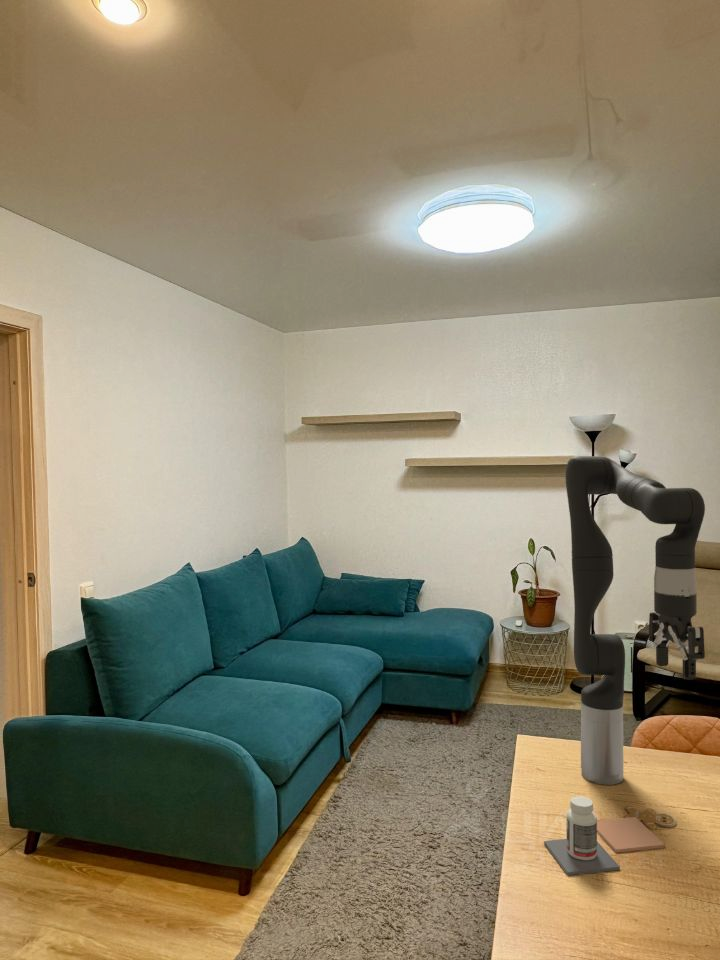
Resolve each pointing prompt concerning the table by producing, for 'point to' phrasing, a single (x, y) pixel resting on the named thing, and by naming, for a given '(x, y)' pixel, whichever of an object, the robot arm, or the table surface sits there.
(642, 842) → the terracotta coaster
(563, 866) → the slate coaster
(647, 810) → the cookie
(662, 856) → the table surface
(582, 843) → the pill bottle
